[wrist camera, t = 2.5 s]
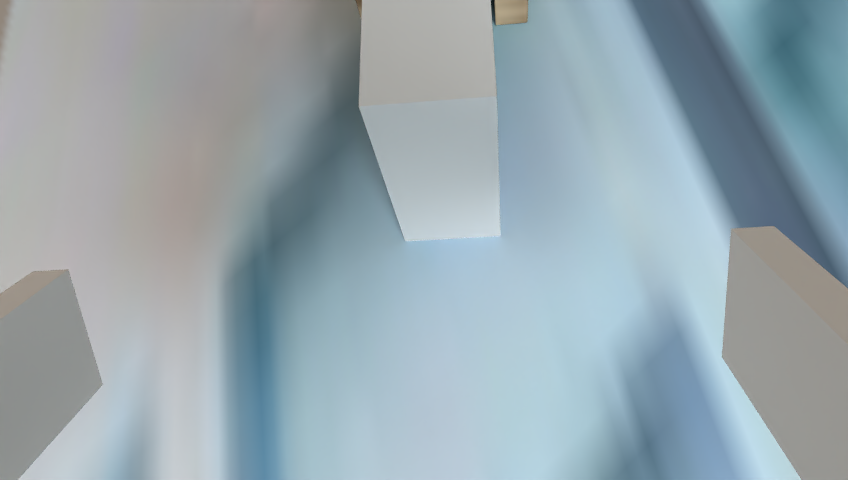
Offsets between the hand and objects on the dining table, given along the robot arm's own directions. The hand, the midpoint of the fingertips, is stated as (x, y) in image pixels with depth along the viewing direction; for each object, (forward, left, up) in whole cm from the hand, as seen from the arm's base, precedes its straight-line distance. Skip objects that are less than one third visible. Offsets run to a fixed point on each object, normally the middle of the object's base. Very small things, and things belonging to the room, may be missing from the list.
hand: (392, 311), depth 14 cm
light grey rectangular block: (0, -16, -13) cm, 21 cm away
